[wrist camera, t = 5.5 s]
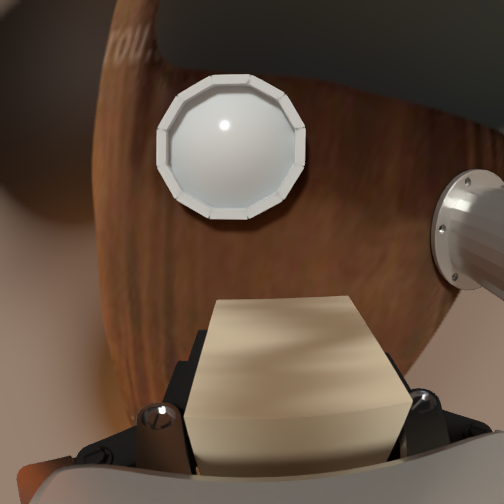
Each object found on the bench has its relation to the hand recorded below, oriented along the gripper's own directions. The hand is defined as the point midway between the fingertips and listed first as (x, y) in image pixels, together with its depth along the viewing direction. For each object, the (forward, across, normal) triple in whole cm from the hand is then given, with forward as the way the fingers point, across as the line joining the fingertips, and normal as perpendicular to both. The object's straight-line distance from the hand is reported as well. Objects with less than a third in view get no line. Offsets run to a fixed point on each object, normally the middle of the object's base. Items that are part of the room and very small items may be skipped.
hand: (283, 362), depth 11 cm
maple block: (+1, 0, 0) cm, 1 cm away
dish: (+16, +3, -9) cm, 18 cm away
